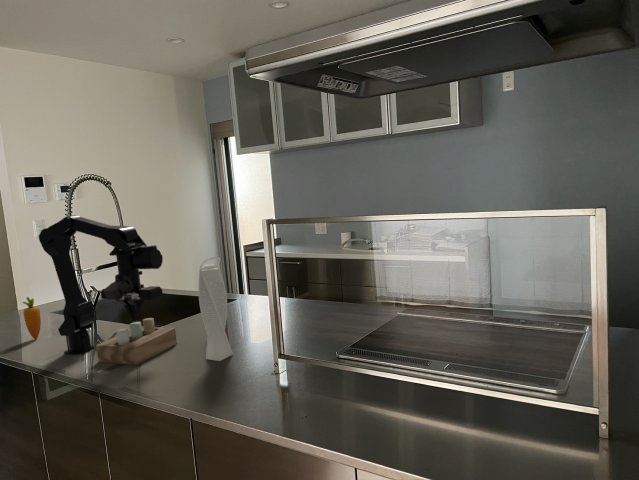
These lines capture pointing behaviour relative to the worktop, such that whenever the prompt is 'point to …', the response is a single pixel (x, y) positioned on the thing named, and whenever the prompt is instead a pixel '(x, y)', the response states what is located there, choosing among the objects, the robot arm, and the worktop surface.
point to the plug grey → (123, 336)
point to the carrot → (32, 318)
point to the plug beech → (148, 325)
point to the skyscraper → (214, 310)
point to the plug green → (136, 330)
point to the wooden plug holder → (137, 347)
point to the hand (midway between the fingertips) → (134, 320)
